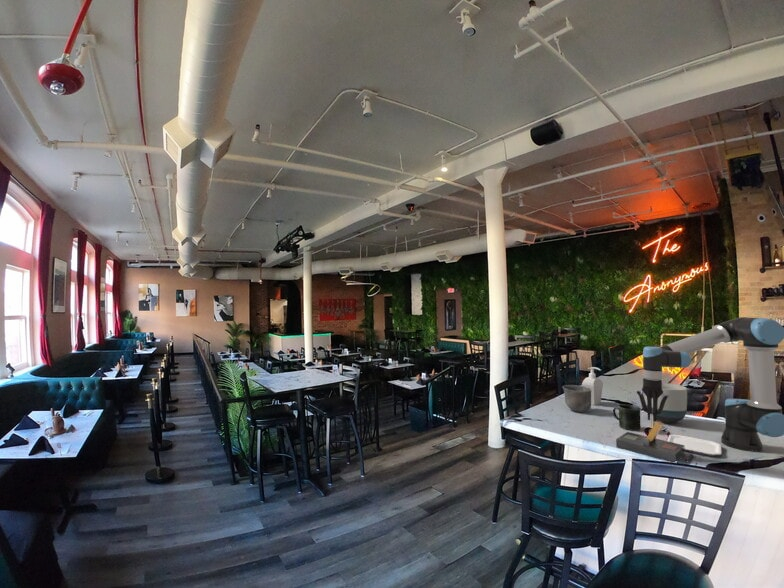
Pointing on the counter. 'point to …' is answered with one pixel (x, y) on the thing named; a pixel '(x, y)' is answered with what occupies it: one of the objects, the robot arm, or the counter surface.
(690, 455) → the cord
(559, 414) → the counter surface
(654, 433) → the lever
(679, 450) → the panel
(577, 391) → the cup
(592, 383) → the soap bottle
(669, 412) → the planter
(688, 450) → the plate
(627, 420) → the mug
